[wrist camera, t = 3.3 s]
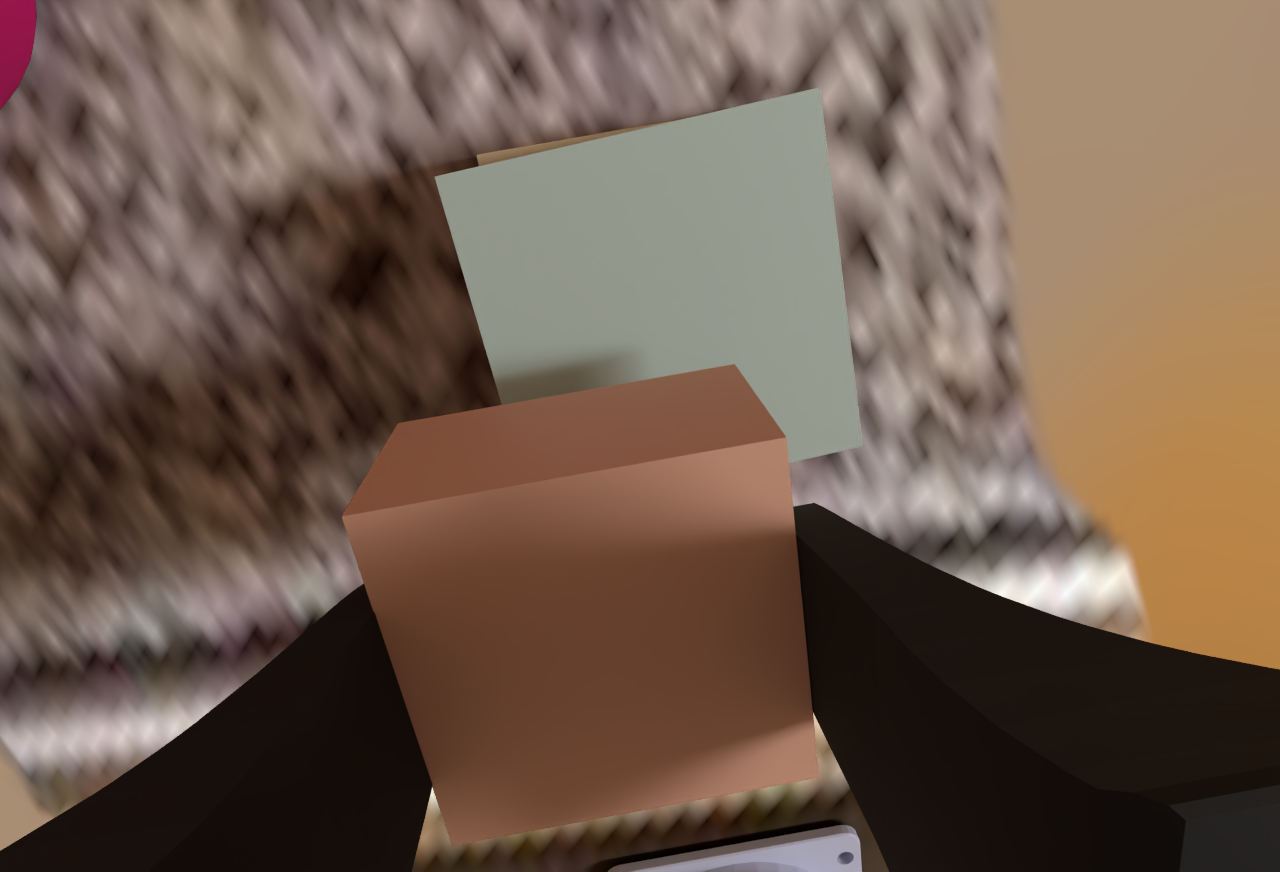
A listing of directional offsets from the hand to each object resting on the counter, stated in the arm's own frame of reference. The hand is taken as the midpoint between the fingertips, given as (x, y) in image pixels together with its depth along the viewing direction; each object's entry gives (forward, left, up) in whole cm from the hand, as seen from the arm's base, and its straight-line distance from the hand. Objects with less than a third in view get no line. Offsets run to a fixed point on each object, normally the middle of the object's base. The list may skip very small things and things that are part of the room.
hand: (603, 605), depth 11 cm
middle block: (+3, -2, -6) cm, 7 cm away
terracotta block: (0, 0, -2) cm, 2 cm away
